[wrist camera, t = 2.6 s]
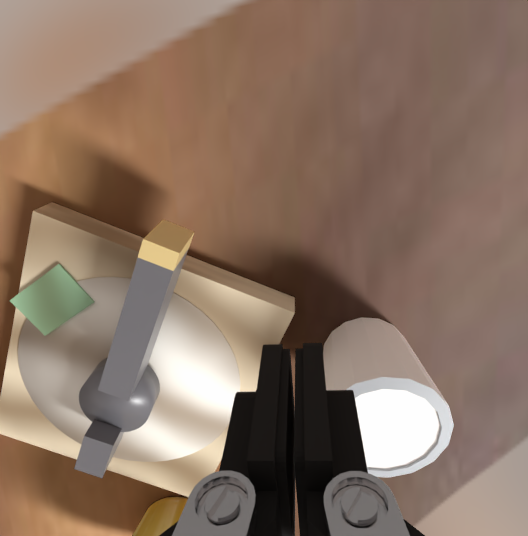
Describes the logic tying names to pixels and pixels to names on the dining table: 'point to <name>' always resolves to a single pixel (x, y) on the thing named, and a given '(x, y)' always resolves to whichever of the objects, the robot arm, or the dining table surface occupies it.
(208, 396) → the tuner board
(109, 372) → the grey dial pointer
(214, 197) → the dining table surface
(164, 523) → the plant pot
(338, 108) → the dining table surface
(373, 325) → the white cup
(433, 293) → the dining table surface
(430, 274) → the dining table surface
